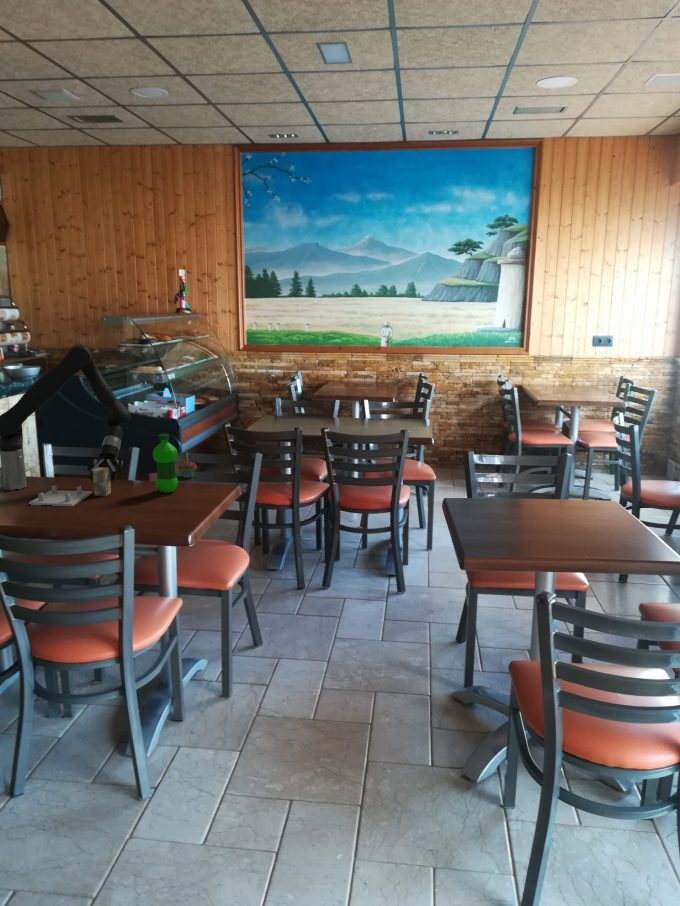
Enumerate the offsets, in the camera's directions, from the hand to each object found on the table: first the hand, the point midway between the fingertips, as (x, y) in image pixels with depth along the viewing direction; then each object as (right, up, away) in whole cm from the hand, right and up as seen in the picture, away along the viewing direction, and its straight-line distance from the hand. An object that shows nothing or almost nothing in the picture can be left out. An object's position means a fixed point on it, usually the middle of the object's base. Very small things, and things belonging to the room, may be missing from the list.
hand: (101, 480), depth 288 cm
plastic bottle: (+26, -5, +6) cm, 27 cm away
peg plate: (-15, -7, -6) cm, 18 cm away
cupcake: (+30, 0, +30) cm, 42 cm away
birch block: (0, -6, +2) cm, 6 cm away
